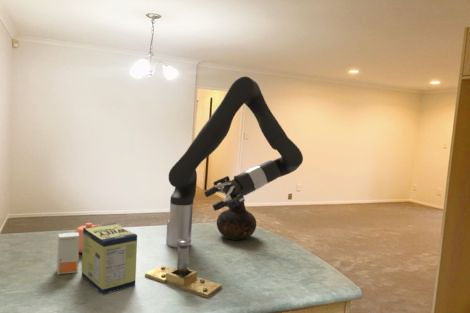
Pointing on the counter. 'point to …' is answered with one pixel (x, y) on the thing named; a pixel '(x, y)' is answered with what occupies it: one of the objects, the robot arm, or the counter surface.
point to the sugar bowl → (82, 235)
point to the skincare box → (68, 253)
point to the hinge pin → (182, 256)
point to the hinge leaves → (184, 281)
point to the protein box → (109, 257)
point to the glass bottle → (236, 223)
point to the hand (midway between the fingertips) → (209, 201)
